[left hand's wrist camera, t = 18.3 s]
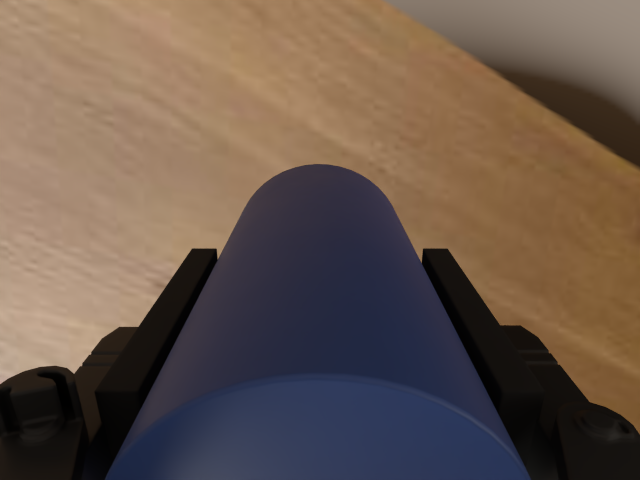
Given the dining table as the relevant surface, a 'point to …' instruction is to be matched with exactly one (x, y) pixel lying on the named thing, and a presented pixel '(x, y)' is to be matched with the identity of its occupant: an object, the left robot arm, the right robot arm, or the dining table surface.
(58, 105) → the dining table surface
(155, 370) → the left robot arm
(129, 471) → the canister
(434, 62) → the dining table surface
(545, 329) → the dining table surface
